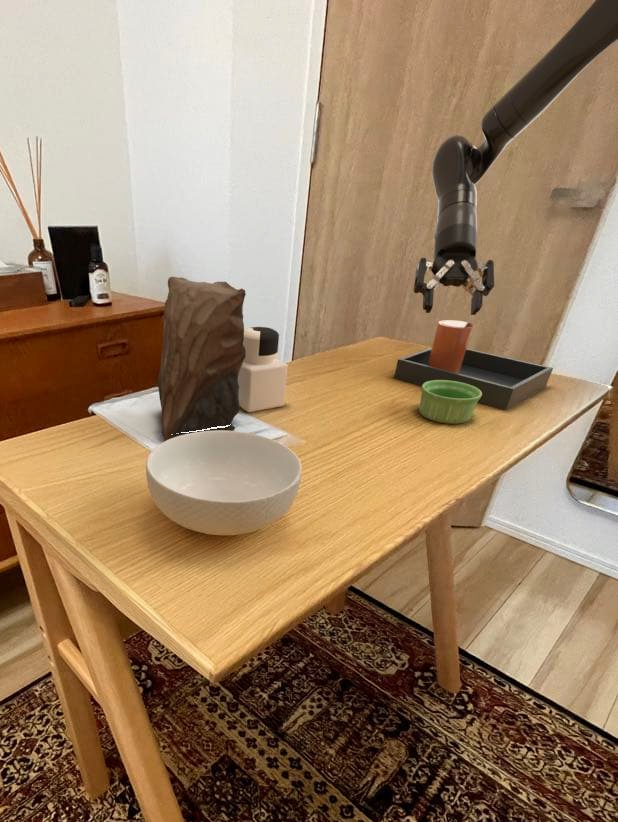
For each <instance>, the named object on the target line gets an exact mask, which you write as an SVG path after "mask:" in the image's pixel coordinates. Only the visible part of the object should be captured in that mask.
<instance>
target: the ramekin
mask: <svg viewBox="0 0 618 822" xmlns="http://www.w3.org/2000/svg"><path fill="white" fill-rule="evenodd" d="M481 396H482V392H481V391H480V390H479V389H478V388H476V387H474V386H472V385H469V384H466V383H462V382H457V381H450V380H433V381H428V382H425V383H424V384H423V385H422V386H421V396H420V402H419V406H418V407H419V408H418V411H419V413H420V415H421V416H422V417H424V418H425V419H427V420H430V421H433V422H437V423H441V424H450V425H451V424H452V425H453V424H454V425H455V424H463V423H466V422H468V421H469V420H471V418H472V416H473V414H474V411H475V410H476V407H477V404H478V403H479V402H478V400H479V399H480V398H481Z"/></svg>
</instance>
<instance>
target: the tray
mask: <svg viewBox="0 0 618 822" xmlns="http://www.w3.org/2000/svg"><path fill="white" fill-rule="evenodd" d="M431 348H432V346H431V347H429V348H425V349H423V350H420V351H418V352H414V353H411V354H409V355H406V356H404V357H400V358H398V359H397V361H396V366H395V371H394V375H393V379H395V380H400V381H403V382H406V383H410V384H414V385H417V386H421V387H422V385H423V384H424V383H425V382H428V381H433V380H450V381H457V382H462V383H466V384H469V385H472V386H474V387H476V388H478V389H479V390H480V391H481V392H482V396H481V398H480V399H479V400H478V402H477V403H480V404H483V405H487V406H489V407H490V406H491V407H493V408H498V409H501V410H505V411H507V410H509V409H510V408H512V407H514V406H515V405H517V404H519V403H521V402H522V401H524V400H526V399H527V398H529V397H531V396H533V395H534V394H536V393H537V392H539V391H541V390H543V389H545V388H546V386H547V384H548V382H549V379H550V377H551V375H552V372H553V369H554V367H550V366H548V365H547V366H546V365H542V364H538V363H533V362H529V361H524V360H519V359H516V358H511V357H507V356H502V355H498V354H493V353H489V352H484V351H480V350H475V349H471V348H467V350H466V353H465V356H464V360H463V363H462V366H461V369H460V373H459V374H458V373H454V372H451V371H447V370H443V369H439V368H435V367H431V366H427V364H428V360H429V356H430V352H431Z"/></svg>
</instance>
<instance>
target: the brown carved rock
mask: <svg viewBox="0 0 618 822" xmlns="http://www.w3.org/2000/svg"><path fill="white" fill-rule="evenodd" d="M167 288H168V293H167V297H166V300H165V301H164V310H163V316H162V327H163V331H162V348H161V354H160V355H161V356H160V368H159V373H158V378H157V389H158V395H159V403H160V407H161V429H162V430H161V433H162V436H163V442H165V441H167V440H169V439H171V438H174V437H177V436H181V435H185V434H189V433H195V432H189V431H196V430H202V429H207V428H211V427H217V426H226V425H230V424H231V425H230V426H228V427H225V428H217V429H210V430H204V431H217V430H226V431H235V430H236V427H235V426H234V425H233V421H234V419H235V417H236V416H237V415H238V414H239V413H240V411H241V407H240V404H239V384H238V376H239V372H240V369H241V366H242V363H243V361H244V359H245V357H246V356H245V354H246V351H245V347H244V345H243V341H244V330H245V323H244V313H243V309H244V302H245V297H246V296H247V295H246V290H245V289H244V288H243V287H242V288H238V289H236V288H235V287H234V286H231V285H230V283H228V282H227V281H214V282H213V283H212V282H211V283H210V282H207V281H206V282H205V281H200V282H199V281H194V280H193V281H192V280H189V279H187V278H185V277H178V276H170V277H168V279H167ZM181 432H189V433H181ZM197 432H202V431H197ZM176 433H179V434H176ZM171 434H173V435H171Z"/></svg>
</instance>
